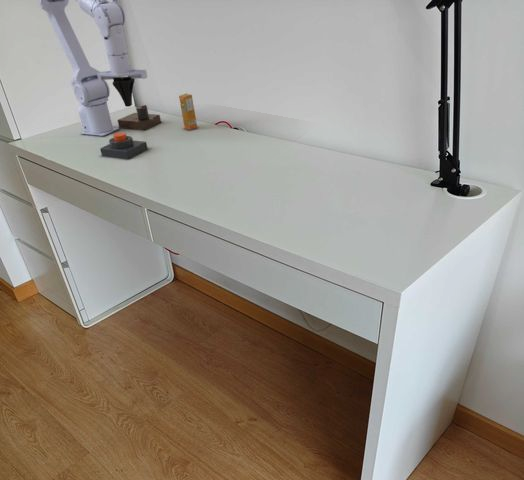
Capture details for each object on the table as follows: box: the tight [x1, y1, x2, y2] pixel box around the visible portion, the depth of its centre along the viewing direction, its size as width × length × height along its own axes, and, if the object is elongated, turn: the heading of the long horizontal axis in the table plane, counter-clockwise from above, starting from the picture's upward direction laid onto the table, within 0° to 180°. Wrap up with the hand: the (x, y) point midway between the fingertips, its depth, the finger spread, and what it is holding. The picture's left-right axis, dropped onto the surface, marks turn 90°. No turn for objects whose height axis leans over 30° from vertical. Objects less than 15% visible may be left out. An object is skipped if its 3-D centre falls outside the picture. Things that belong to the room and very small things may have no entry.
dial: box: [135, 104, 150, 120], centre depth 164 cm, size 4×4×4 cm
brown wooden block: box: [117, 112, 162, 131], centre depth 168 cm, size 12×9×3 cm
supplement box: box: [178, 92, 198, 131], centre depth 159 cm, size 3×3×10 cm
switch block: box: [99, 135, 149, 160], centre depth 146 cm, size 10×9×4 cm
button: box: [112, 132, 127, 142], centre depth 144 cm, size 4×4×2 cm
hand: (128, 105), depth 150 cm, fingers closed
